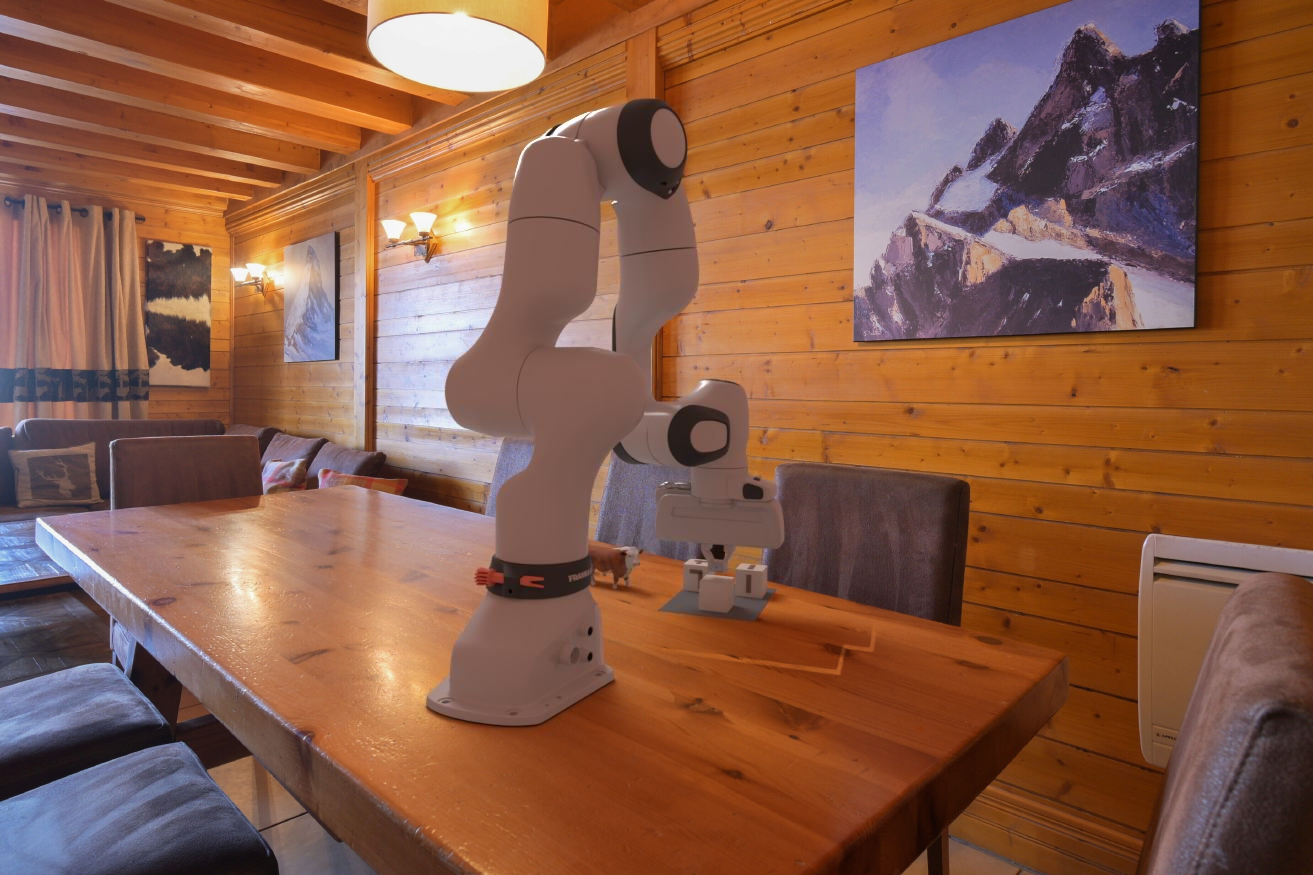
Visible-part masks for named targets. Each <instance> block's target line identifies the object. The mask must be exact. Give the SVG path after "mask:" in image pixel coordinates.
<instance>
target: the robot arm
mask: <svg viewBox="0 0 1313 875" xmlns="http://www.w3.org/2000/svg"><path fill="white" fill-rule="evenodd" d="M685 129H686V128H685V126H684V124H683V121H682V119H681V118H680V116H679V115H678V113H676V111H675V110H674V109H673V108H672V106H670V105H669V103H667V102H666V101H664V100H662V99H660V98H636V99H631V100H629V101H627V103H623V104H616V105H612V106H609V107H604V108H601V109H595V110H591V111H588V112H586V113H584V114H581V115H579V116H577V117H574V118H572V119H570V120H569V121H566V122H565V123H560V124H556V125H554V126H553V127H551V128H549V129H548V130H547V131H546V132H545V133H543V134H542V135H541V136H540V137H539V138H537V139H535V140H532V141H531V142H529V143H528V144H527V145H526V146H525V148H523V150H522V152H521V154H520V156H519V159H518V163H517V167H516V171H515V174H514V179H513V183H512V188H511V193H510V199H509V206H508V213H507V214H508V215H507V225H506V226H507V227H506V239H505V240H506V242H505V250H504V251H505V252H504V261H503V262H504V263H503V272H502V279H501V287H500V290H499V295H498V298H497V301H496V305H495V307H494V309H493V312H492V314H491V316H490V318H489V320H488V321H487V324H486V326H485V327H484V329H483V331H482V332H481V334H480V336H479V337H478V339H477V340H476V341H475V342H474V343H473V345H472V346H471V347H470V348H469V349H468V350H467V351H466V352H465V353H463V354H462V355H461V356H460V357H458V358H457V359H456V360H455V361H454V363H452V365H451V367H450V368H449V371H448V373H447V375H446V379H445V382H444V384H445V385H444V399H445V403H446V408H447V409H448V412H449V414H450V416H451V417H452V419H453V420H454V422H455V423H456V424H457V425H459V426H460V427H462V428H464V429H467V430H469V431H473V432H475V433H478V434H482V435H487V436H490V437H495V438H509V439H512V438H513V439H528V440H530V439H531V440H534V448H533V453H532V456H531V459H530V461H529V462H528V464H527V466H526V468H525V469H524V470H521V471H519V472H518V473H516V474H514V475H513V476H511V477H510V478H508V479H507V480H506V481H504V482H503V484H502V485H501V487H500V488H499V490H498V492H497V494H496V496H495V537H494V538H495V543H494V544H495V552H494V554H493V555H492V557H491V560H490V565H489V567H488V568H486V567H478V568H477V569H476V570H475V572H476V573H474V583H476V584H475V585H476V586H485V589H486V592H485V595H484V597H483V598H482V600H481V602H480V603H479V604H478V606H477V607H476V608H475V611H474V612H473V613H472V615H471V617H470V619H469V620H468V622H467V624H466V625H465V626H464V628H463V630H462V631H461V633H460V634H459V635H458V637H457V639H456V640H455V642H454V644H453V646H452V651H451V657H450V663H449V664H450V668H449V674H448V675H447V676H446V677H445V678H444V679H443V680H442V681H441V682H439V684H437V685H436V686H435V687H434V688H433V689H432V690H430V692H428V694H427V695H426V700H425V705H426V706H427V707H428V708H430V709H431V710H432V711H434V712H436V713H439V714H441V715H444V716H447V717H450V718H455V719H459V720H463V721H468V722H473V723H482V724H488V725H498V726H514V727H516V726H531V725H532V726H533V725H538V724H542V723H544V722H546V721H547V720H549V719H551V718H553V717H554V716H555V715H557V714H560V712H563V711H565V709H567V708H568V707H570V706H572V705H574V704H575V703H577V702H579V701H580V700H582V699H584V698H586V697H588V696H589V695H590V694H592V693H594V692H595V691H597V690H598V689H600V688H602V687H604V686H606V685H607V684H609V683H610V682H612V681H614V680H615V671H614V668H613V667H611V666H609V665H608V664H606V663H605V654H604V635H603V634H604V633H603V632H604V631H603V620H602V618H603V617H602V610H601V607H600V605H599V603H598V602H596V600H595V598H594V597H593V594H592V592H591V589H590V585H591V582H592V562H591V554H590V553H589V552H588V544H589V531H590V530H589V529H590V512H591V503H592V502H591V501H592V493H593V488H594V485H595V482H596V478H597V476H598V473H599V471H600V469H601V467H602V466H603V464H604V462H605V460H606V458H607V457H608V455H609V454H610V453H611V451H613V452H614V454H615V455H616V456H617V457H618V458H619V459H620V460H621V461H623V462H624V463H627V464H630V465H654V466H655V465H656V466H660V467H661V466H663V467H673V468H674V467H676V468H682V469H684V468H685V469H687V468H688V469H689V468H690V469H691V472H690V477H691V478H690V480H691V481H690V482H686V481H685V482H684V481H683V482H676V481H675V482H674V481H664V483H662V484H659V485H658V486H657V487H656V489H655V505H656V507H657V508H656V514H655V519H654V520H655V521H654V522H655V523H654V535H655V537H656V538H657V539H658V540H659V541H667V542H668V541H669V542H670V541H671V542H683V543H692V544H694V543H695V544H700V551H701V553H702V555H703V557H704V558H705V560H707V561H708V572H715V573H717V574H727V573H728V571H729V561H730V559H731V558H732V556H733V554H734V553H735V551H736V547H744V548H756V549H769V550H777V549H779V548H780V547H781V546H782V545H783V543H784V542H785V522H784V521H785V519H784V514H783V513H784V512H783V508H782V505H781V503H780V501H779V500H778V499H776V498H775V497H777V494H778V485H777V483H776V482H773V481H771V480H768V479H766V478H764V477H763V478H762V477H760V476H757V475H754V474H753V473H749V461H748V457H747V446H748V443H749V440H750V413H749V412H750V411H749V409H750V408H749V402H748V396H747V393H746V390H745V388H744V387H743V386H742V385H740V384H739V383H737V382H735V381H731V380H726V379H725V380H724V379H719V378H703V379H700V380H699V381H697V384H696V385H695V387H694V388H693V389H692V390H691V391H690V392H688V393H687V394H686V395H684V396H681V397H680V398H678V399H676V400H675V401H673V400H672V401H657V400H656V399H655V397H654V395H653V393H652V392H653V391H652V348H653V342H654V340H655V337H656V336H657V335H658V334H657V333H658V332H659V331H660V329H662V327H663V326H664V325H666V323H668V322H669V321H670V320H672V319H673V318H675V317H677V316H678V315H679V314H681V313H682V312H683V311H685V309H686V308H687V307H688V306H689V305H690V303H691V302H692V300H694V298H695V295H696V294H697V292H698V288H699V281H700V265H699V263H700V262H699V255H698V254H699V253H698V249H697V248H698V246H697V239H696V238H697V237H696V231H695V230H696V229H695V225H694V221H693V217H692V211H691V208H690V204H689V200H688V197H687V192H686V190H685V187H684V185H683V183H682V179H683V174H684V172H685V168H686V164H687V158H688V138H687V134H686V130H685ZM609 201H611V203H610V205H611V207H612V209H613V211H614V213H615V216H616V236H617V249H618V258H619V260H618V261H619V275H620V276H619V280H620V281H619V292H618V298H617V302H616V304H615V306H614V309H613V314H612V322H611V326H612V327H611V349H610V350H609V349H606V348H605V349H604V348H601V347H600V348H599V347H594V346H556V344H557V342H558V339H559V337H560V335H561V333H563V331H564V329H565V328H566V326H567V325H568V324H569V323H571V322H572V321H573V320H574V319H576V318H577V317H579V316H581V315H582V314H583V313H585V312H586V311H587V310H588V309H589V308H590V307H591V306H592V304H593V302H594V300H595V299H596V295H597V292H598V274H599V261H600V260H599V258H600V242H601V224H602V223H601V222H602V221H601V220H602V218H601V217H602V216H601V215H602V214H601V213H602V211H601V210H602V209H601V207H602V206H601V203H603V202H609ZM612 201H613V202H612ZM713 545H718V546H723V552H725V553H726V555H725V556H724V558H723V559H717V558H715V557H714V555H713V553H712V551H711V549H712V548H713Z"/></svg>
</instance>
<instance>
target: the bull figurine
mask: <svg viewBox="0 0 1313 875" xmlns="http://www.w3.org/2000/svg"><path fill="white" fill-rule="evenodd" d="M588 552H589V553H590V554H591V562H592V582H591V584H590V585H592V586H596V585H597V584H596V579H595V572H596V570H597V571H598V572H600V573H601V574H602V576H603V577H606V576H607V574H612V576H613V585H612V587H611V588H612V589H615V590H616V589H618V582H619V581H620V579H623V580H624V582H625V587H626V588H631V583H630V575H631V573H632V572H633V568H635V567H639V566H641V561H640V560H639V557H640V556H639V555H641V554H642V553H643V552H644V549H643V548H640V549H638V548H637V547H636V546H622V547H614V548H613V547H605V546H600V545H599V546H598V545H595V544H590V543H588Z"/></svg>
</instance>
